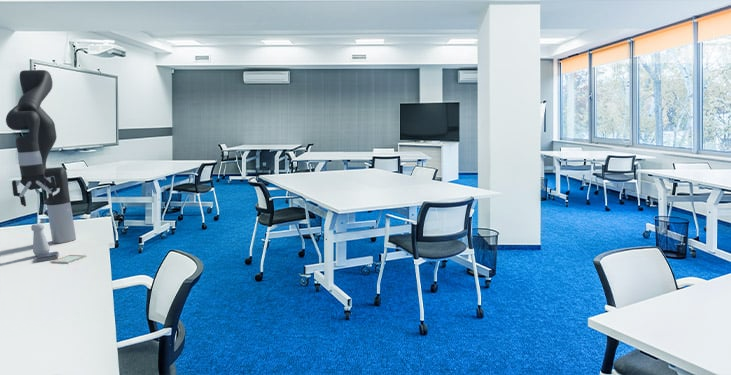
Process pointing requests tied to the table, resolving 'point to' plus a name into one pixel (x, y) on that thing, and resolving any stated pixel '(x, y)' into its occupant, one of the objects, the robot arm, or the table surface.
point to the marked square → (68, 259)
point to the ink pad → (47, 256)
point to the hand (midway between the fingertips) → (37, 204)
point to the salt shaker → (39, 240)
